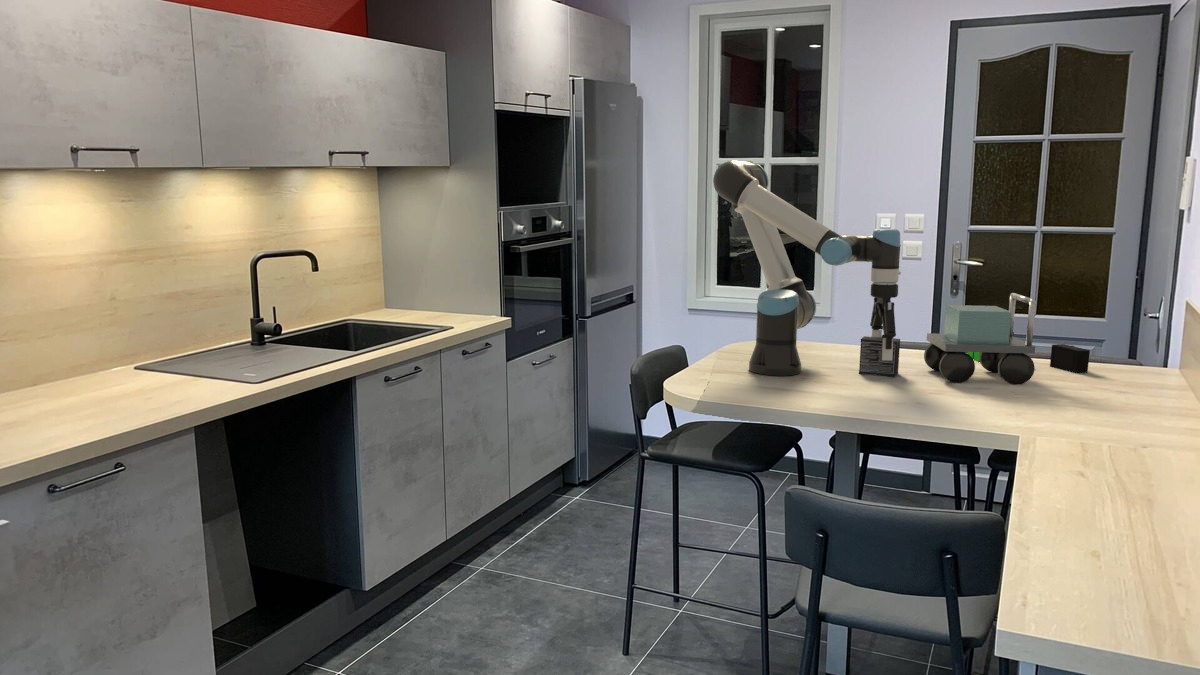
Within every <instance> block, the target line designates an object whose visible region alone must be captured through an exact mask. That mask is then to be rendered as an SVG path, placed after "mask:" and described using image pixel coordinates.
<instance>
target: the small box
mask: <svg viewBox="0 0 1200 675" xmlns="http://www.w3.org/2000/svg"><path fill="white" fill-rule="evenodd" d="M882 347H883V338H881V337H872V336H868V335H867V336H862V337H861V338H860V350H859V351H860V353H859V366H858V367H859V368H858V374H859V375H868V376H878V377H879V376H880V377H890V378H891V377H892V378H893V377H894V378H895V377H897V376H898V375H899V362H900V347H901V338H896V337H895V338H893V356H892V360H882Z"/></svg>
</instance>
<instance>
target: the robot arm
mask: <svg viewBox="0 0 1200 675" xmlns="http://www.w3.org/2000/svg"><path fill="white" fill-rule="evenodd" d="M715 170H716V171H714V174H713V178H712V179H713V180H712V181H713V187H714V189H715V192H716V193H717V195H719V196H720V197H721V198H722V199H724V200H726V201H727V202H729V203H730V204H732V208H733V210H734V212H735V213H738V214H740V215H741V217H742V220H743V222H744V225H745V228H746V230H747V234H748V235H749V239H750V241H751V244H752V247H753V248H754V251H755V254H756V257H757V259H758V262H759V264H760V265H759V266H760V267H761V269H762V272H763V276H764V278H765V280H766V283H767V286H768V288H767V290H765V291H763V292H761V293H760V294H759V295H758V298H757V303H756V309H757V310H756V329H755V330H756V333H755V346H754V349H753V351H752V353H751V357H750V358H749V362H748V363H749V364H748V370H749V371H750V372H752V373H754V374H759V375H765V376H778V377H779V376H780V377H781V376H783V377H784V376H794V375H798V374H800V373H802V361H801V359H800V354H799V351H798V348H797V347H798V346H797V338H798V336H797V334H798V329H802V328H805V327H806V326H807V325H808V324H809V323H811V322H812V320H813V319H814V317H815V315H816V313H817V302H816V300H815V298H814V296H813V295H812V293H811V292H809V291H807V289H806V286H805V284H804V281H803V280H802V279H801V278H799V277H797V276H796V275H795V272H794V269H793V266H792V265H791V261H790V259H789V256H788V254H787V251H786V248H785V246H784V243H783V240H782V237H781V235H780V233H779V230H780V231H781V232H783V233H785V235H788V236H789V237H791V238H792V239H794V240H795V241H797V242H799V243H800V244H802V245H804V246H805V247H807V248H808V249H810V250H812V251H813V252H814V253H816V254H817V255H819V256H820V257H821V259H822V260H823V261H824V263H826V264H827V265H830V266H836V267H837V266H842V265H844V264H849V263H852V262H855V263H857V262H861V263H862V262H864V263H865V262H866V263H870V262H871V269H870V270H871V271H870V274H871V275H870V282H871V284H870V297H872V298H873V307H872V313H871V319H870V327H871V337H881V338H883V347H882V360H892V356H893V338H894V337H895V338H896V336H897V331H896V320H895V319H896V317H895V303H894V302H892V301H891V300H892V299H893V298H897V297H898V295H899V284H898V282H899V276H900V275H901V273H902V272H901V271H900V258H901V257H900V256H901V232H900V230H898V229H897V228H877V229H876V228H875V229H874V230H873V233H872V234H871V235H849V234H848V235H847V234H838V233H837V232H835V231H833V230H832V229H830V228H829V227H827V226H825V225H824V224H823V223H821V222H819V221H818V220H816V219H814V218H813V217H812V216H809V215H808V214H807V213H805V212H803V211H801V210H800V209H798V208H797V207H795V206H794V205H792V204H790V203H789V202H788V201H786V200H784V199H782V198H781V197H779V196H778V195H777V194H774V193H773V192H771V191H769V189H768V186H769V177H768V176H769V175H768V174H767V172H766V170H765V168H764V167H763V166H761V165H760V164H758V163H756V162H753V161H751V160H741V161H740V160H728V161H725V162H723V163H722V164H720V166H718V167H717V168H716V169H715ZM882 333H883V334H882Z"/></svg>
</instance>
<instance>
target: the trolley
mask: <svg viewBox="0 0 1200 675" xmlns="http://www.w3.org/2000/svg"><path fill="white" fill-rule="evenodd" d="M1017 301H1020V302H1022V303H1025V304H1028V305H1029V306H1028V315H1027V326H1026V336H1025V340H1022V339H1020V338H1018V337H1015V336H1014V337H1013V332H1014V322H1015V314H1016V313H1015V312H1016V302H1017ZM1036 304H1037V301H1036V299H1034V298H1031V297H1028V296H1024V295H1022V294H1018V293H1015V292H1012V293H1010V294H1009V305H1008V310H1007V309H1005V308H1002V307H999V306H997V305H969V304H968V305H965V304H964V305H962V304H961V305H960V304H959V305H958V304H955V305H954V304H946V306H945V317H944V318H945V319H944V331H943V333H927V334H926V341H928V342H929V344H928V346H927V347H926V348H925V350H924V353H923V359H924V362H925V364H926V366H928V367H929V369H932V370H933V371H935V372H938V373H939V372H940V374H941V376H942V377H943V378H945V380H947V381H948V382H949V383H953V384H962V383H966V382H967V381H968V380H970V379H971V378H972V377H973V375H974V373H975V371H976V363H975V360H973V358H972V357H971V356H970V355H969V354H967V353H968V352H980V355H979V360H980V363H979V364H980V365H981V367H982V368H983V369H985V370H987V371H988V372H989V373H992V374H998V376H1000V378H1001V379H1002V380H1003V381H1005V382H1007V383H1008V384H1011V385H1013V386H1014V385H1016V386H1019V385H1023V384H1025V383H1028V382H1029V380H1031V378H1032V377H1033V376H1034V373H1035V369H1036V368H1035V367H1036V366H1035V362H1034V360H1033V359H1032V358H1031V357H1030V356H1029V355H1028V354H1035V353H1036V346H1035V345H1033V339H1034V338H1033V336H1034V328H1035V316H1036Z"/></svg>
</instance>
